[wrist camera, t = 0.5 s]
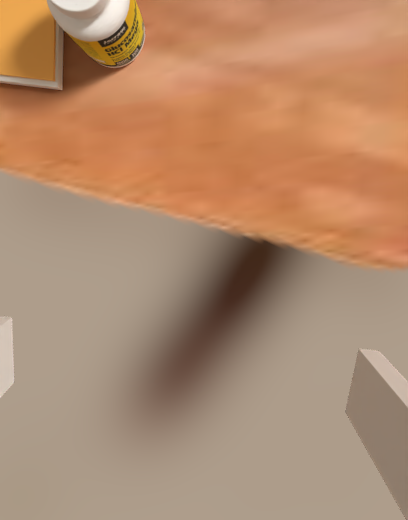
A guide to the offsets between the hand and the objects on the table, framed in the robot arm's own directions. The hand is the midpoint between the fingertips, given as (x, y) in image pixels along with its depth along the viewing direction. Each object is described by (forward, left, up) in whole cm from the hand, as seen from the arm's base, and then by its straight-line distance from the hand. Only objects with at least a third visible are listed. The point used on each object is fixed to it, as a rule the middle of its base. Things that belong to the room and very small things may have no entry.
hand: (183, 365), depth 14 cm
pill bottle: (-19, -10, -26) cm, 34 cm away
